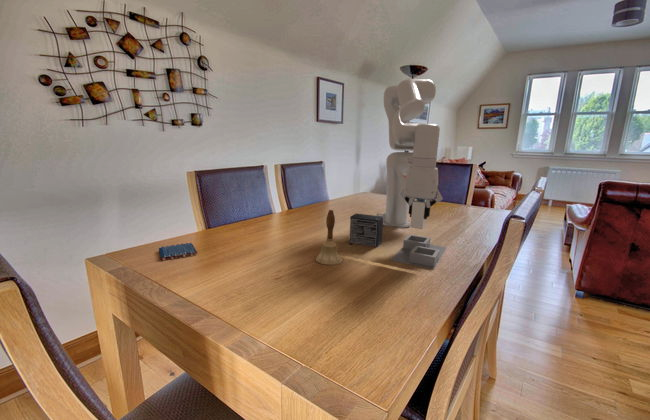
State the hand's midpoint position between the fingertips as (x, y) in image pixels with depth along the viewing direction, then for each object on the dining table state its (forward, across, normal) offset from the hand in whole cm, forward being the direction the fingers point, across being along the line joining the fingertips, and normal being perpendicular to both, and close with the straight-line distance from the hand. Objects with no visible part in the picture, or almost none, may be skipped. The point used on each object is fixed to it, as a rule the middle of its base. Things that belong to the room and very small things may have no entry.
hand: (418, 216), depth 107 cm
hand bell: (+11, -20, -25) cm, 34 cm away
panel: (+11, +3, -6) cm, 13 cm away
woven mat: (+12, -65, -46) cm, 80 cm away
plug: (+3, 0, 0) cm, 3 cm away
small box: (+12, -16, -5) cm, 21 cm away
